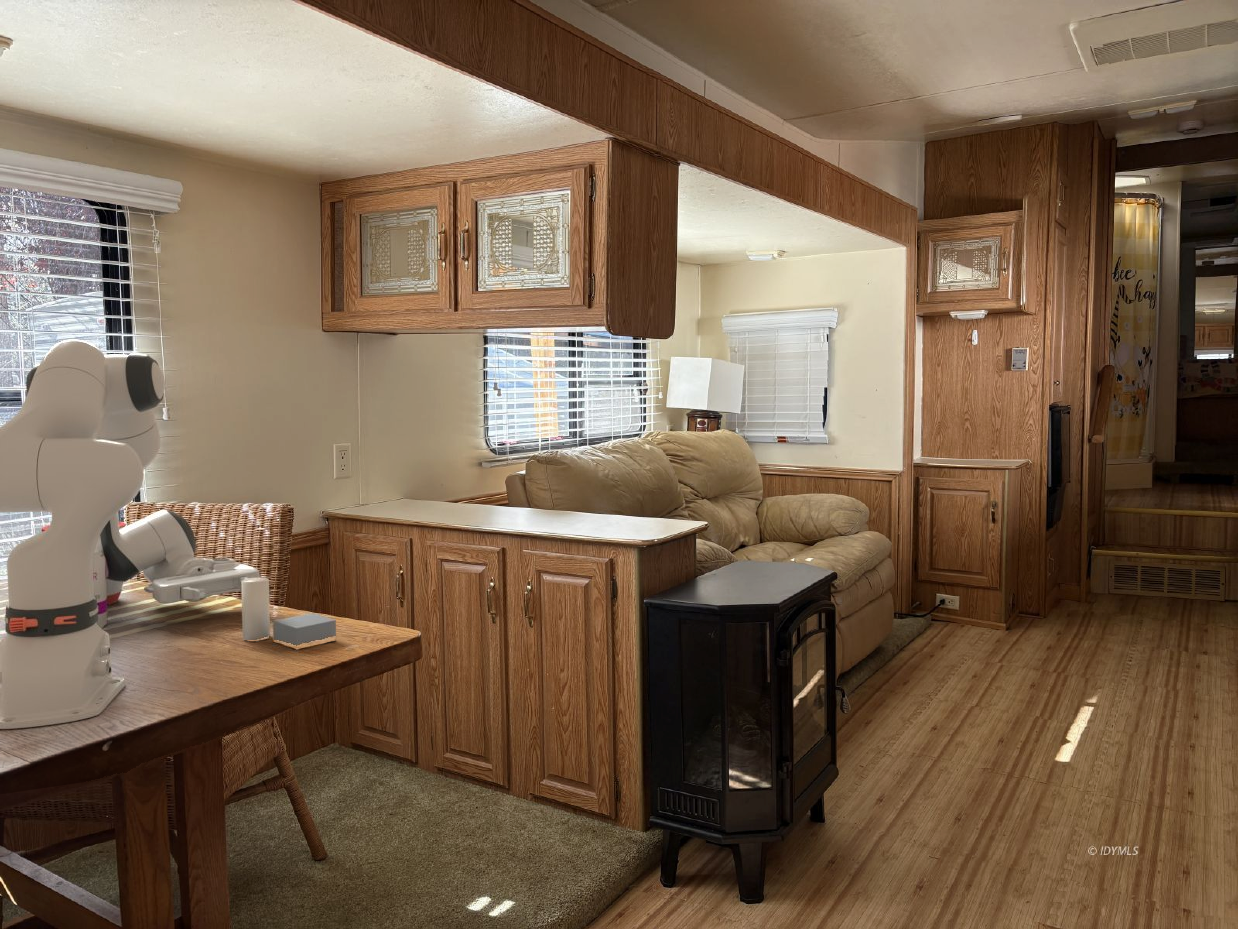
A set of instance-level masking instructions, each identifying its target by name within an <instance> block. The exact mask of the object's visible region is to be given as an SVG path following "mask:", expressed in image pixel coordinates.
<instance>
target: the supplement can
mask: <svg viewBox="0 0 1238 929" xmlns="http://www.w3.org/2000/svg"><path fill="white" fill-rule="evenodd" d="M93 592H94V597H95V598H96V599H97V605H98V621H97V622H96V623H97V625H98V626H99V627H100V628H101V629H102V630H103V629H104V627H105V626H106V625H107V624H108V618H109V617H108V605H107V590H106V562H105V557H104V555H103V554H102V552H101V550H100V549H95V555H94V572H93Z"/></svg>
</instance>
